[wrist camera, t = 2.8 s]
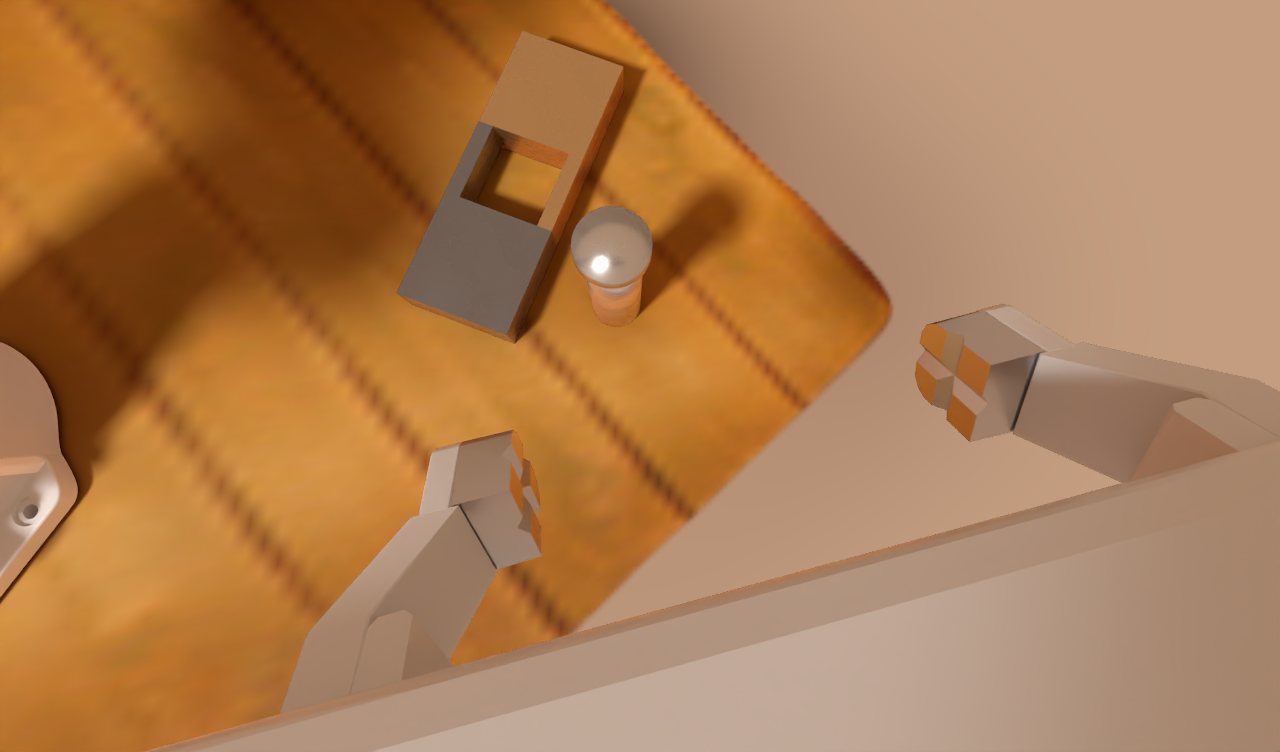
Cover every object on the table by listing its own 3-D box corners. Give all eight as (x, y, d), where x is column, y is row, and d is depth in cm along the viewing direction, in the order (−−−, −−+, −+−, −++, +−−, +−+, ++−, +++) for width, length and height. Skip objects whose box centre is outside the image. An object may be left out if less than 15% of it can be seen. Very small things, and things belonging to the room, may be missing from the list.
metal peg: (633, 341, 35) (635, 295, 25) (577, 320, 35) (558, 266, 26) (655, 287, 36) (664, 222, 26) (600, 266, 36) (588, 194, 26)
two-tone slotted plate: (514, 343, 35) (506, 334, 33) (412, 304, 35) (396, 293, 33) (623, 91, 38) (623, 66, 36) (529, 57, 38) (522, 30, 36)
